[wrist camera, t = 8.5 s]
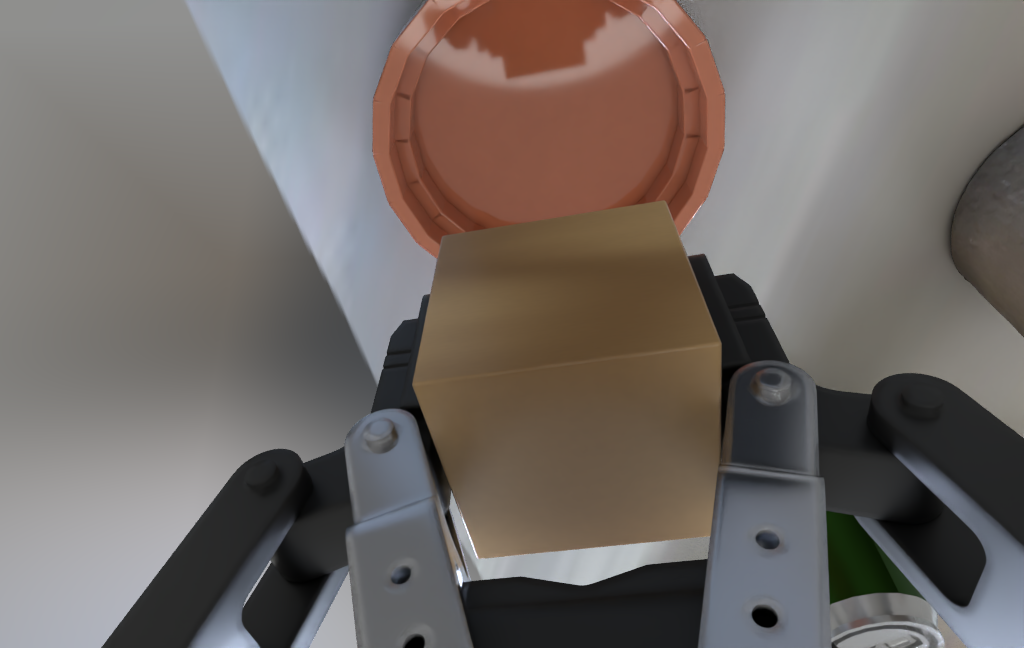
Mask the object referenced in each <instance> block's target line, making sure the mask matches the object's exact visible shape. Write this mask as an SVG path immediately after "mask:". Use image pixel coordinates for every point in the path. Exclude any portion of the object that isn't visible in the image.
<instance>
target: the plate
mask: <svg viewBox="0 0 1024 648" xmlns="http://www.w3.org/2000/svg"><path fill="white" fill-rule="evenodd" d="M724 92H725V90H724V88H723V85H722V82H721V79H720V76H719V73H718V70H717V67H716V64H715V61H714V58H713V55H712V52H711V49H710V46H709V43H708V40H707V39H706V37H705V35H704V34H703V33H702V32H701V30H700V29H699V28H698V27H697V25H696V24H695V23H694V22H693V21H692V19H691V18H690V17H689V16H688V14H687V13H686V12H685V11H684V9H683V8H682V7H681V6H680V5H679V3H678V2H677V1H676V0H424V1H423V2H422V4H421V5H420V6H419V7H418V9H417V10H416V11H415V12H414V14H413V15H412V16H411V17H410V19H409V20H408V21H407V22H406V24H405V25H404V26H403V28H402V29H401V31H400V33H399V34H398V36H397V38H396V39H395V41H394V42H393V45H392V46H391V49H390V52H389V55H388V57H387V60H386V63H385V66H384V69H383V72H382V74H381V77H380V80H379V83H378V86H377V89H376V92H375V94H374V97H373V99H374V100H373V144H372V152H373V157H374V160H375V163H376V166H377V169H378V172H379V176H380V179H381V182H382V185H383V188H384V191H385V194H386V197H387V200H388V202H389V205H390V206H391V208H392V209H393V210H394V212H395V213H396V215H397V216H398V218H399V219H400V220H401V222H402V223H403V225H404V226H405V227H406V229H407V230H408V232H409V233H410V234H411V236H412V237H413V239H414V240H415V241H416V243H418V244H419V245H420V246H421V247H422V248H424V249H425V250H426V251H428V252H429V253H430V254H431V255H433V256H434V257H435V258H437V259H438V254H439V249H440V244H441V239H442V236H446V235H452V234H458V233H464V232H470V231H477V230H483V229H489V228H495V227H501V226H508V225H514V224H520V223H526V222H533V221H539V220H545V219H551V218H557V217H564V216H570V215H576V214H582V213H588V212H595V211H601V210H607V209H613V208H620V207H626V206H632V205H638V204H644V203H651V202H657V201H666V203H667V206H668V208H669V211H670V213H671V216H672V218H673V221H674V223H675V226H676V228H677V231H678V234H679V236H680V235H681V233H682V232H683V231H684V229H685V228H686V226H687V225H688V224H689V222H690V221H691V220H692V218H693V217H694V215H695V214H696V213H697V211H698V210H699V208H700V207H701V206H702V204H703V203H704V202H705V200H706V198H707V197H708V194H709V191H710V188H711V186H712V183H713V180H714V177H715V174H716V171H717V168H718V165H719V162H720V159H721V157H722V154H723V151H724V146H725V93H724Z"/></svg>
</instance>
